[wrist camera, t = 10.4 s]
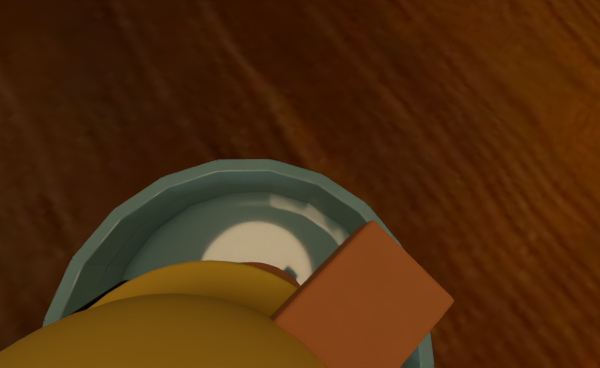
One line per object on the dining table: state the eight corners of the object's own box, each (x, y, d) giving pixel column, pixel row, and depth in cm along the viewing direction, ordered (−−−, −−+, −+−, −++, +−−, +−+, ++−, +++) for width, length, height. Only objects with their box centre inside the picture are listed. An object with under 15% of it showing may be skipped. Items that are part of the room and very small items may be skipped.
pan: (440, 418, 15) (498, 469, 11) (140, 563, 13) (82, 688, 9) (332, 151, 18) (348, 117, 14) (71, 237, 16) (4, 225, 12)
